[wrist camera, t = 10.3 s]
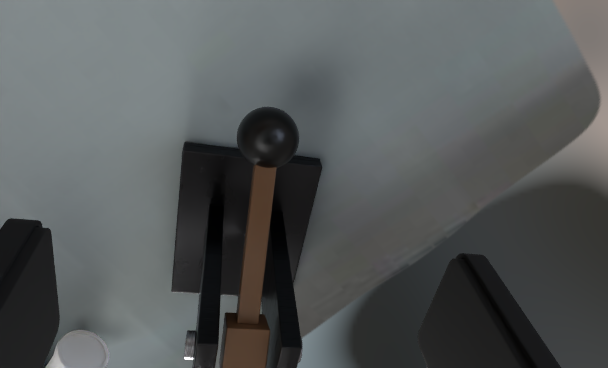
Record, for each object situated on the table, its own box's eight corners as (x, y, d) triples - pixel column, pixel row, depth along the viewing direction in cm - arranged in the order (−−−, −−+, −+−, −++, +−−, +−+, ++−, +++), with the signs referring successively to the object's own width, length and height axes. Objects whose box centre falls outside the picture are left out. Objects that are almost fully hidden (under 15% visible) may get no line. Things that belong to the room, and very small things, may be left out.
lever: (238, 106, 25) (242, 99, 22) (296, 114, 26) (308, 108, 23) (210, 359, 26) (210, 387, 23) (267, 360, 27) (274, 388, 23)
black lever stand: (184, 141, 30) (154, 279, 19) (320, 158, 32) (362, 292, 21) (173, 281, 36) (145, 447, 25) (288, 288, 38) (308, 446, 27)
